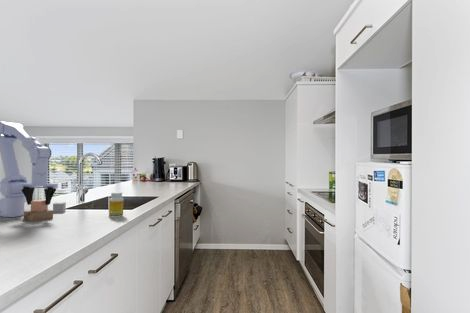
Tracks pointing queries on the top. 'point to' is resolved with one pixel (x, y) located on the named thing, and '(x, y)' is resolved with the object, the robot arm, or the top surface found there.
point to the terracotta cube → (38, 206)
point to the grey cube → (59, 207)
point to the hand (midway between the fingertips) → (38, 204)
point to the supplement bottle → (116, 205)
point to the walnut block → (37, 215)
